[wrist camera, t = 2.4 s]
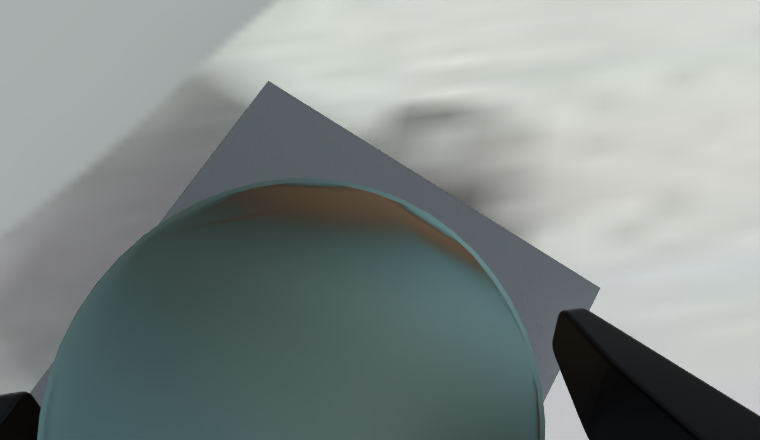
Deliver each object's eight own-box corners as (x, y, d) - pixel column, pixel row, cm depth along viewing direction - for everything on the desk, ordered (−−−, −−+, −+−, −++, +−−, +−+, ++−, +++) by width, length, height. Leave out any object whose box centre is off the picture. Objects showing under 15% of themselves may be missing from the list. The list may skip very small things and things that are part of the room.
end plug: (347, 452, 16) (382, 838, 4) (226, 373, 16) (-85, 519, 4) (421, 325, 17) (622, 335, 5) (306, 252, 18) (241, 95, 5)
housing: (381, 617, 15) (394, 701, 12) (71, 410, 16) (-3, 435, 12) (550, 294, 18) (600, 287, 15) (280, 125, 18) (268, 81, 15)
